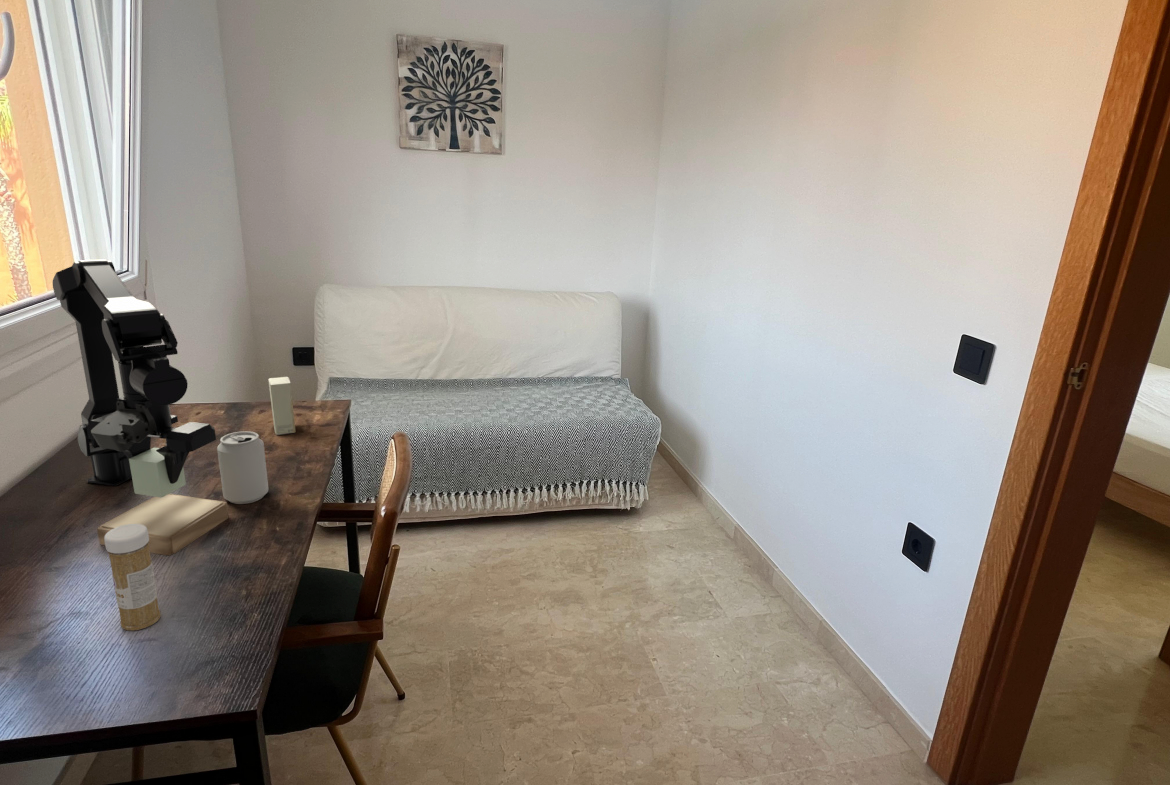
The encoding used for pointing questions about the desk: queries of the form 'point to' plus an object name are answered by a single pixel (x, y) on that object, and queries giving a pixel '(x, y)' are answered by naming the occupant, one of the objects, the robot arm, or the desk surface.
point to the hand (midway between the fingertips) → (159, 480)
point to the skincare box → (282, 405)
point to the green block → (152, 474)
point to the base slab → (171, 521)
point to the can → (242, 467)
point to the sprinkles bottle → (133, 576)
